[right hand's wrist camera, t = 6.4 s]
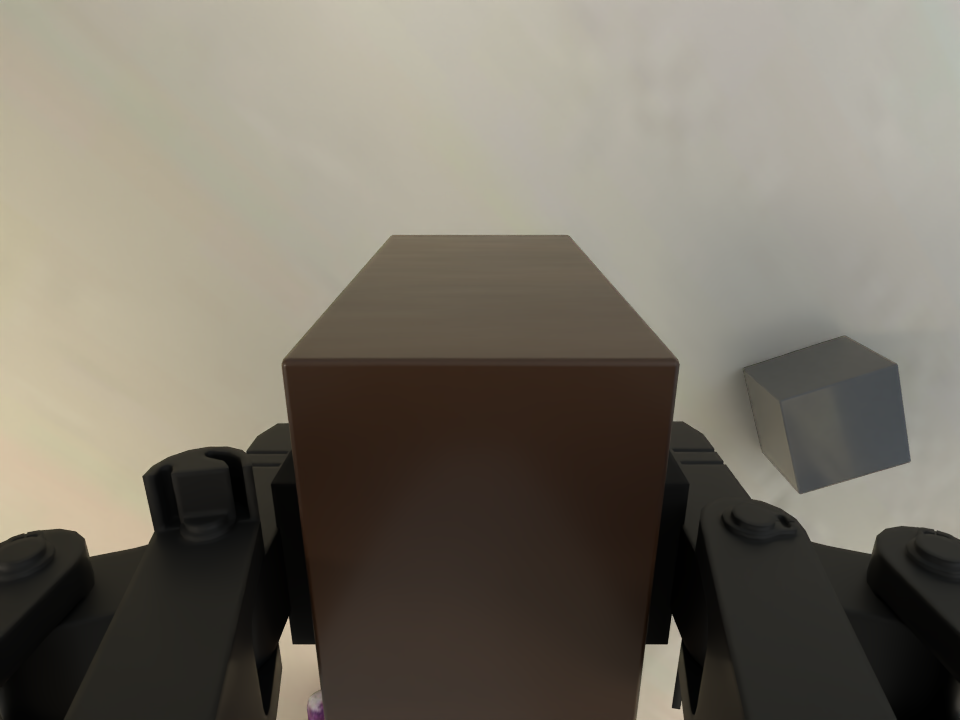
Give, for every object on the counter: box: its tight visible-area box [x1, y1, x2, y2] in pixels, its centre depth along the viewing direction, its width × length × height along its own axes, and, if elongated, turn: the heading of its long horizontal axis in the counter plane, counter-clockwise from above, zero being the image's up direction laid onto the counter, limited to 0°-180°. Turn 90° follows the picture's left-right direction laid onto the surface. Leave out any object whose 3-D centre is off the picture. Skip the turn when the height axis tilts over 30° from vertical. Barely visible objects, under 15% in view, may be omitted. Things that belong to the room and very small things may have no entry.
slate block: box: [743, 336, 911, 494], centre depth 28 cm, size 5×5×4 cm
